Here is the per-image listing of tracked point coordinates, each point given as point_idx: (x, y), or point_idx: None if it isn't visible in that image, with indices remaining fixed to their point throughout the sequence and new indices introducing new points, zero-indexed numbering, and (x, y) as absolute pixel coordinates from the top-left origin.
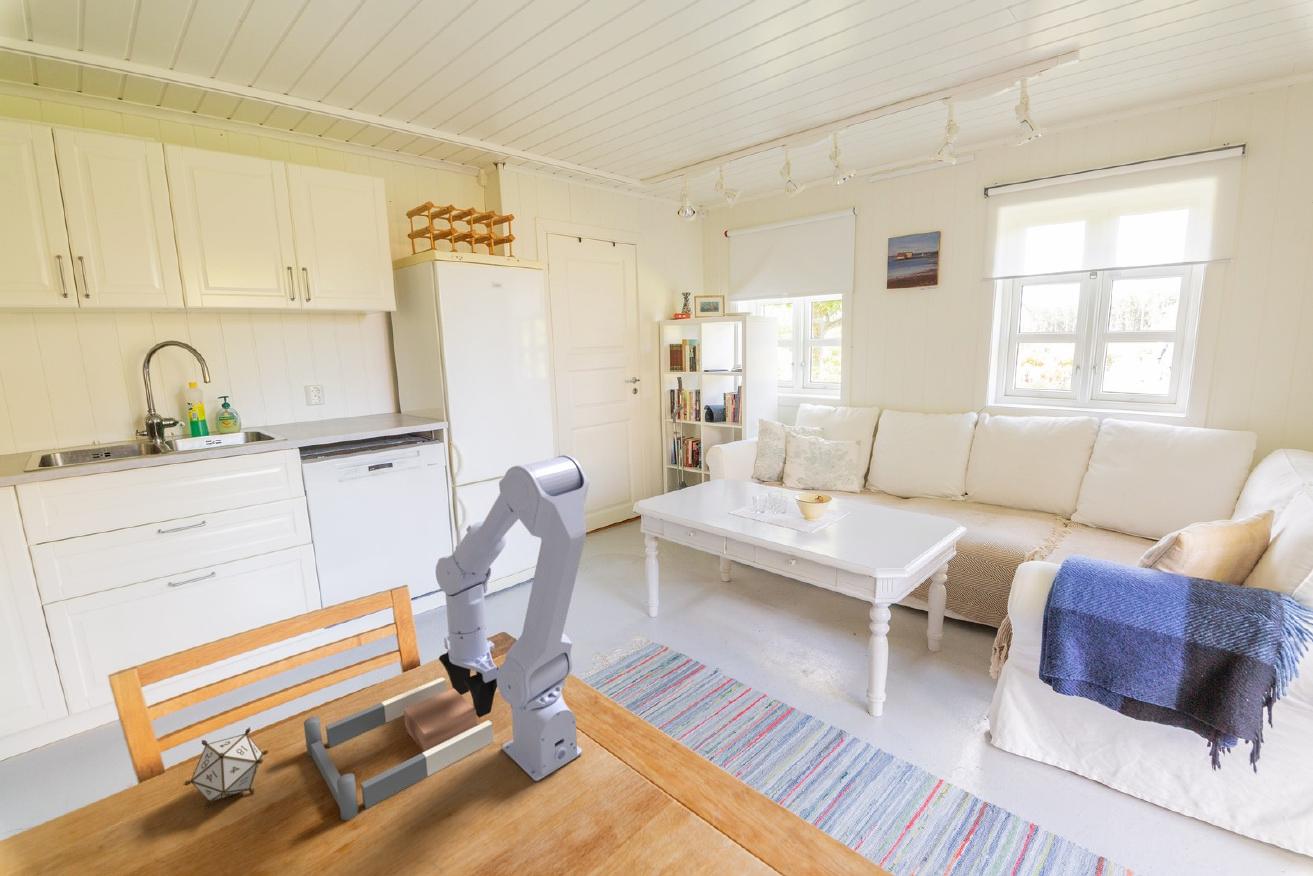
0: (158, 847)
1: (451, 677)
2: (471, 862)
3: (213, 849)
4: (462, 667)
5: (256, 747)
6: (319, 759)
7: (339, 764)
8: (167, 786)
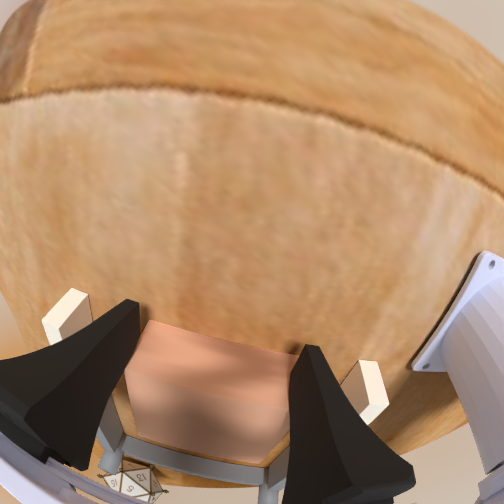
0: (170, 481)
1: (105, 403)
2: (440, 436)
3: (204, 484)
4: (87, 398)
5: (123, 483)
6: (164, 467)
7: (168, 445)
8: (98, 454)
